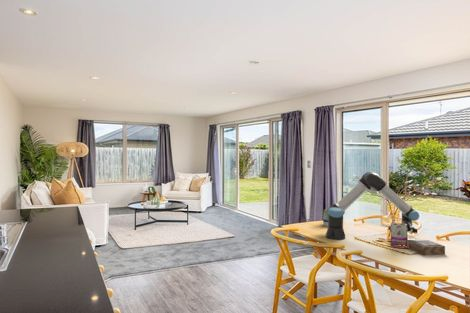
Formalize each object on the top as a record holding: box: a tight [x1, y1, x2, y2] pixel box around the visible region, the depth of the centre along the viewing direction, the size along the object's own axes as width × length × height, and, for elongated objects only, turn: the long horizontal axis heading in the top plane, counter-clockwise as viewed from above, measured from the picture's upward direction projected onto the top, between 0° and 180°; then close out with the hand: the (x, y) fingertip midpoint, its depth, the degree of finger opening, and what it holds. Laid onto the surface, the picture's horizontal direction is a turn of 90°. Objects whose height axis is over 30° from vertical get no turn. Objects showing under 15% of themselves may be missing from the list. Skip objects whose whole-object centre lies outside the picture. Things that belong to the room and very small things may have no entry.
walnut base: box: [407, 239, 446, 256], centre depth 241 cm, size 16×16×6 cm
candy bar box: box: [390, 222, 409, 247], centre depth 257 cm, size 11×5×16 cm, turn 62°
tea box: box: [322, 208, 328, 227], centre depth 331 cm, size 15×10×15 cm
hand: (400, 231), depth 260 cm, fingers open, 13 cm apart
